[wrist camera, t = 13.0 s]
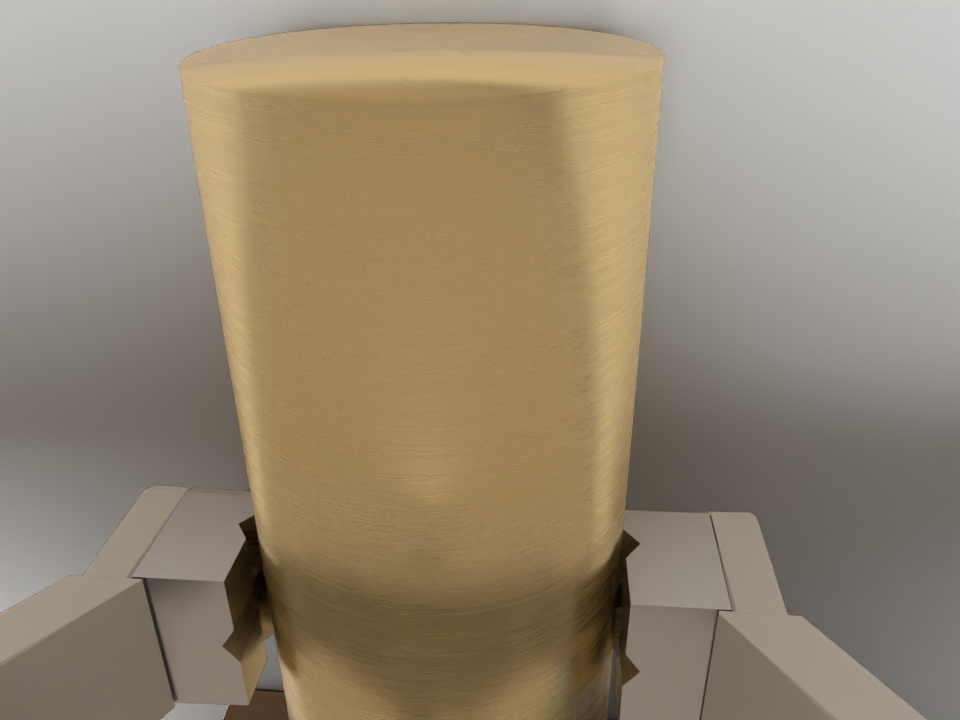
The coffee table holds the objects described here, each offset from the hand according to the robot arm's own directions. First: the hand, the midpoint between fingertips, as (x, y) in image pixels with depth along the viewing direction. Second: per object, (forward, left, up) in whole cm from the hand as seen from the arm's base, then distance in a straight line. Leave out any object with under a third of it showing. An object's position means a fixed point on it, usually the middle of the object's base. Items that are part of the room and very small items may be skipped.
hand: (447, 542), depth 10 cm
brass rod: (-1, 0, -2) cm, 2 cm away
